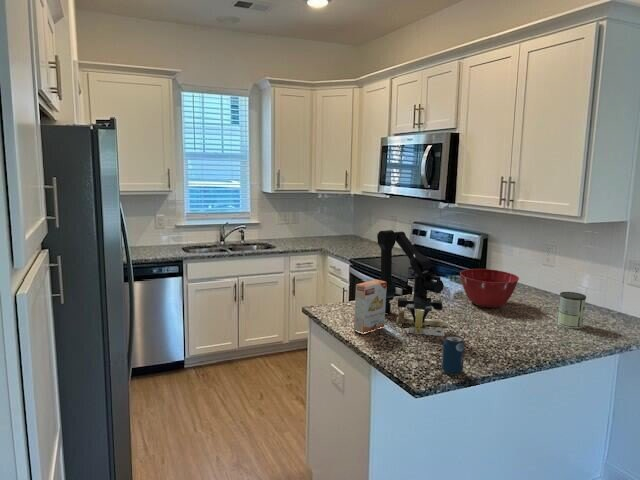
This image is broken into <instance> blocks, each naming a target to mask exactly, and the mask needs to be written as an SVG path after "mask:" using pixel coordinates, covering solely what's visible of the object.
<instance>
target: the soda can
mask: <svg viewBox="0 0 640 480" xmlns="http://www.w3.org/2000/svg"><path fill="white" fill-rule="evenodd" d="M442 344H443V345H442V360H441V369H442V370H443V372H444V374H446V375H449V374H450V375H449V376H459V375H461V373H462V372H463V370H464V361H465V360H464V358H465V346H466V345H465V342H464V339H463V337H461V336H459V335H455V334H453V335H451V334H450V335H445V338H444V340H443V343H442Z"/></svg>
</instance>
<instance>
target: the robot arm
mask: <svg viewBox="0 0 640 480" xmlns="http://www.w3.org/2000/svg"><path fill="white" fill-rule="evenodd" d="M376 235H377V237H376V238H377V245H378V246H379V248H380V258H381V259H380V280H381V281H385V282H387V289H386V305H385V313H389V314H390V313H391V310H392V309H391V305H392V304H391V302H390V301H393V299H394V297H395V295H396V293H397V284H396V283H394V282H393V280H392V275H393V274H392V273H393V271H392V270H393V265H392V264H393V248H394V247H395V245H396V243H397V245H399V248H400V249H401V250H402V251H403V253H404V254H405V256H407V258H408V260H409V265H410V267H411V268H412V270H413V272H412V273H411V274H410V276H412V277H414V280H413V282H414V283H413V296H412V297H413V298H412V299H413V300H409V299H408V298H407V297H399V298H398V299H397V307H398V308H407V310H409V311H410V312H411V315H412V318H413V320H414V323H415V315H416V310H421V311H423V321H422V323H424V320H425V319H427V318H426V317H427V315H428V314H429V312H432V311H433V310H437V311H442V310H443V301H442V300H439V299H432V298H431V297H428V292H430V293H435V294H441V292H442V291H443V289H444V282H443V281H442V280H441V278H442V277H440V276H437V274H436V272H435V269H434V268H433V266H432V262H431V260H430V259H429V258H428V257H427V256H425V255H424V254H422V253H420V252H419V251H418V250H417V248H416V247H415V246H414V245H413V243H412V242H411V241H410V239H409V238H408V237H407V235H406V232H405V231H394V230H393V229H387V230H380V231H379V232H378V233H377V234H376Z"/></svg>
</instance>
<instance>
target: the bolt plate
mask: <svg viewBox="0 0 640 480" xmlns="http://www.w3.org/2000/svg"><path fill="white" fill-rule="evenodd" d="M408 327H409V326H408ZM408 330H410V332H411V333H414V334H413V335H419V334H425V335H424V336H431V335H434V336H433V337H443V336H444V337H445V338H446V335H445V331H444V329H435V328H423V327H422V328H420V330H418V328H415V327H412V326H411V327H409V329H408Z"/></svg>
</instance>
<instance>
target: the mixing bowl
mask: <svg viewBox="0 0 640 480" xmlns="http://www.w3.org/2000/svg"><path fill="white" fill-rule="evenodd" d="M459 275H460V278H461V283H462V287H463V289H464V292H465V295H466V297H467V298H468V300H469V301H470V302H471V303H473V305H475V304H476V306H478V307H481V306H482V308H490V309H494V308H495V309H496V308H499V307H502V306H503V305H505V304H506V303H507V302H508V301H509V300H510V298H511V297H512V295H513V293H514V291H515V289H516V287H517V284H518V282H519V280H520V277H519V276H518V275H517V274H514V273H512V272H511V273H510V272H507V271H503V270H497V269H488V268H470V269H469V268H468V269H464V270H461V271H460V272H459Z"/></svg>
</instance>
